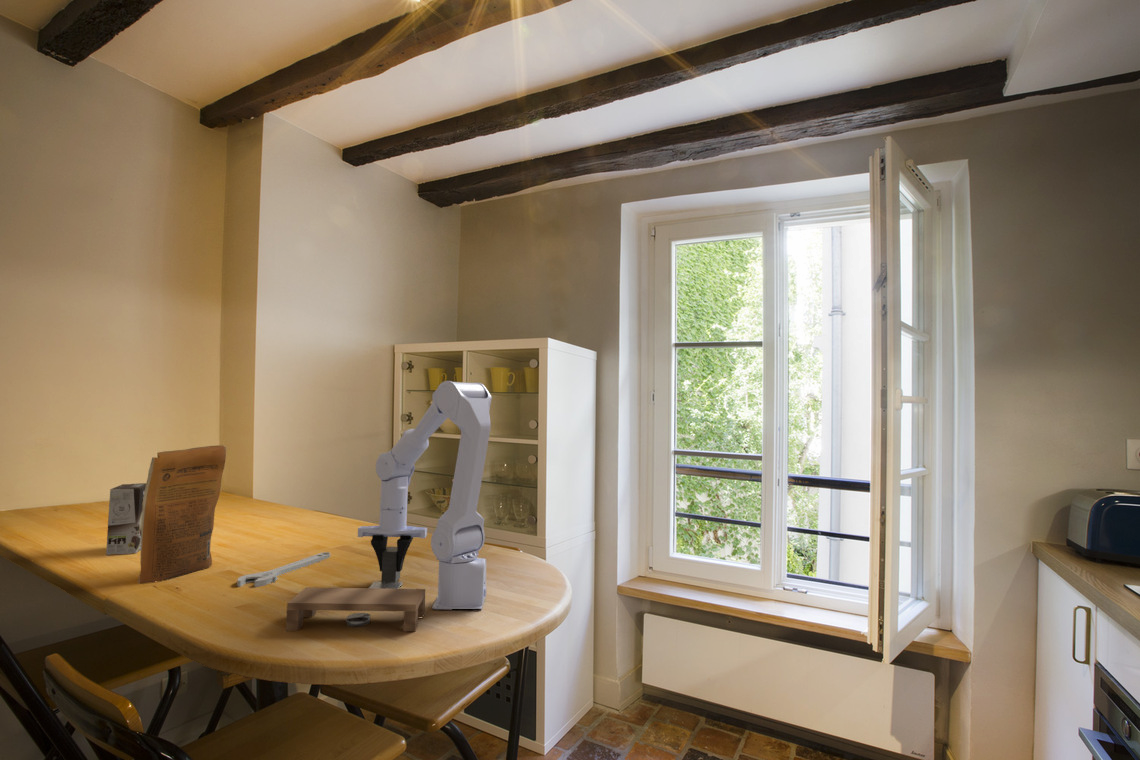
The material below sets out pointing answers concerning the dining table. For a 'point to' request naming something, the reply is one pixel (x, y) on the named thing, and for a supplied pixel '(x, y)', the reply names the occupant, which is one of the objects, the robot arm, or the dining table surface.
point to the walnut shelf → (356, 603)
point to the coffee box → (125, 519)
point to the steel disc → (358, 619)
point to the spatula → (389, 570)
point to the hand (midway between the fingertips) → (391, 570)
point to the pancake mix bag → (180, 512)
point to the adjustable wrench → (279, 571)
